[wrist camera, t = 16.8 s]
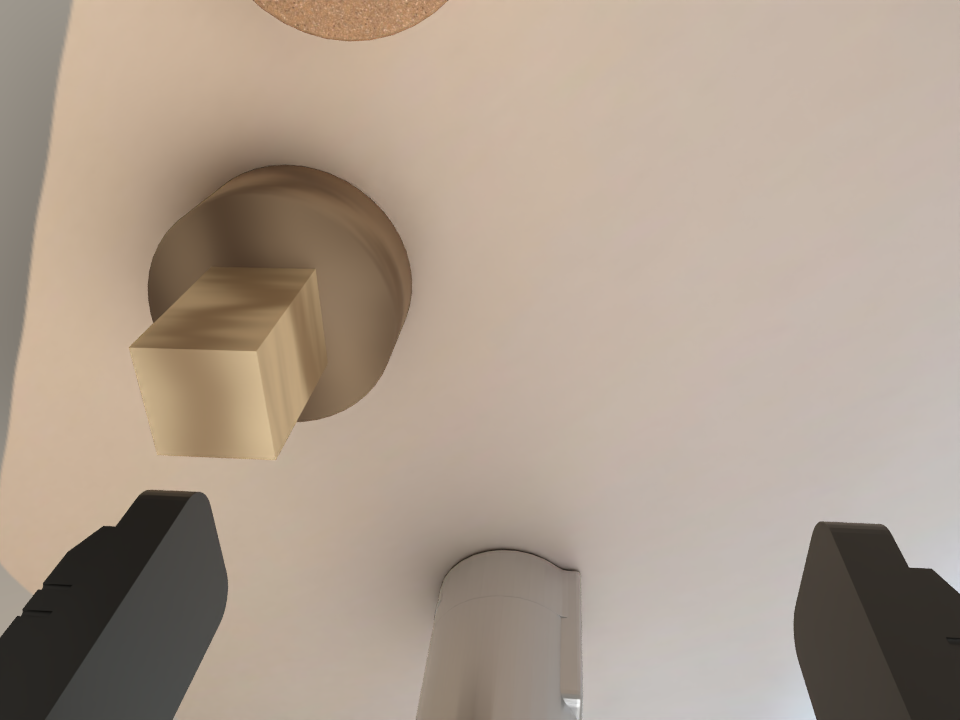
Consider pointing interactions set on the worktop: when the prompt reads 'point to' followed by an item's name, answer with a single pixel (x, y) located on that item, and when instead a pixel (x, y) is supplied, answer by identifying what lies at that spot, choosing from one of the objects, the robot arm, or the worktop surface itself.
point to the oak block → (232, 363)
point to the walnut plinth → (302, 265)
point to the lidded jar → (351, 16)
